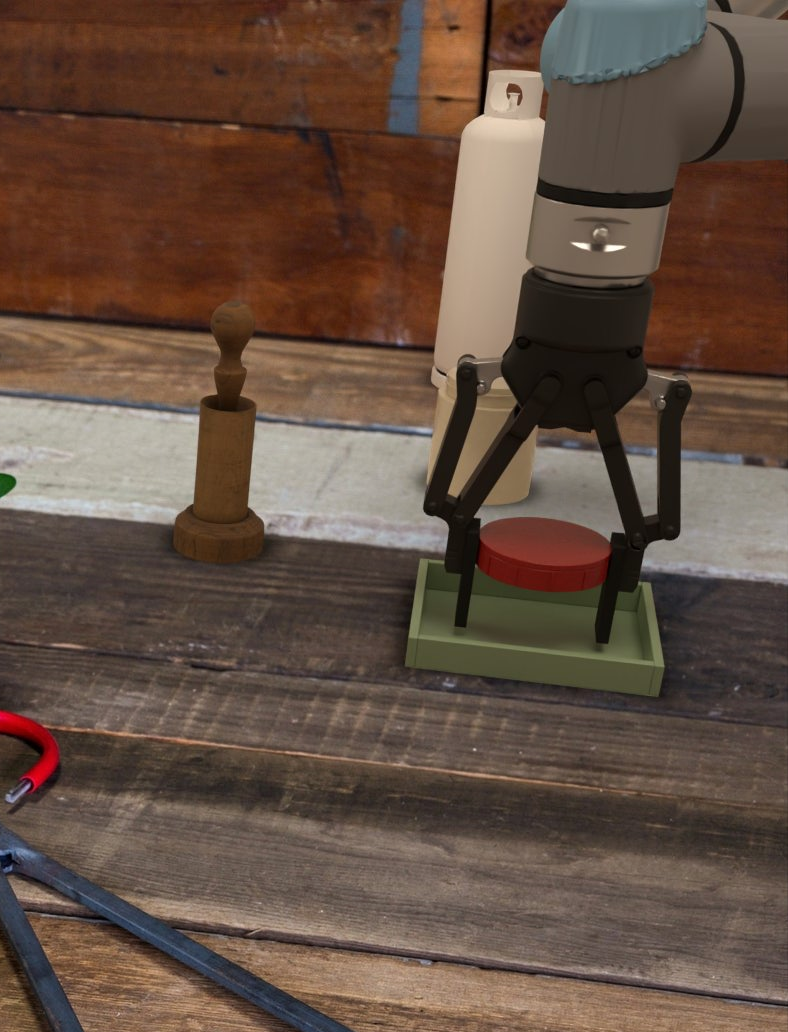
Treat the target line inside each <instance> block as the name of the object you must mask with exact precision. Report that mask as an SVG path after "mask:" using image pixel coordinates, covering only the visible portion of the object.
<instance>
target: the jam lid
mask: <svg viewBox="0 0 788 1032" xmlns="http://www.w3.org/2000/svg"><path fill="white" fill-rule="evenodd" d="M611 553H612V548H611V543H610V541H609V539H607V538H606V536H604V535H603V534H601V533H600V532H598V531H596V530H593V529H591V528H589V527H587V526H584V525H582V524H581V525H580V524H577V523H574V522H570V521H566V520H561V519H556V518H549V517H540V516H539V517H538V516H515V517H514V516H513V517H505V518H500V519H496V520H492V521H490V522H487V523H486V524H484V525H483V526H482V527H480V537H479V544H478V551H477V558H476V565H477V567H478V568H479V569H480V570H481V571H482V572H483V573H485V574H486V575H488V576H489V577H491V578H493V579H495V580H497V581H500V582H502V583H505V584H508V585H512V586H515V587H519V588H523V589H529V590H535V591H543V592H576V591H583V590H588V589H591V588H594V587H596V586H599V585H600V584H602V583H603V582H605V580H606V578H607V575H608V569H609V564H610V559H611Z"/></svg>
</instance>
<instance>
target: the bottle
mask: <svg viewBox="0 0 788 1032" xmlns="http://www.w3.org/2000/svg"><path fill="white" fill-rule="evenodd" d="M509 84H512V85H517V86H518V87H519V88H520V90H521V93H522V94H521V93H517V92H508V93H507V90H508V86H509ZM544 88H545V85H544V83H543V81H542V77H541V72H538V71H530V70H521V69H494V70H490V71H489V72H488V79H487V87H486V93H485V100H484V101H485V102H484V109H483V110H484V111H483V114H481V115H479V116H477V117H475V118H474V119H472V120H471V121H470V122H468V123H467V124H466V125H465V126H464V129H463V131H462V133H461V136H460V137H461V138H460V145H459V152H458V161H457V169H456V176H455V177H456V178H455V186H454V193H453V199H452V200H453V201H452V202H453V203H452V208H451V209H452V210H451V217H450V224H449V232H448V233H449V234H448V240H447V248H446V255H445V256H446V257H445V266H444V272H443V274H444V275H443V280H442V281H443V282H442V288H441V297H440V304H439V312H438V321H437V328H436V336H435V343H434V353H433V362H434V365H433V366H432V368H431V374H430V375H431V376H430V382H431V384H432V385H434V386H435V387H436V388H438V389H439V388H440V387H441V386H443V385H445V384H446V378H447V377H446V375H447V372H448V371H449V370H450V369H452V368H454V367H456V366H457V364H458V360H459V358H460V357H461V356H463V355H465V354H471V355H473V356H475V358H476V359H481V358H494V357H502V356H503V354H504V352H505V351H506V350H507V349H508V347H509V346H510V344H511V342H512V340H513V335H514V329H515V322H516V315H517V309H518V302H519V295H520V288H521V282H522V276H523V275H524V274H525V273H526V272H527V271H528V270H529V269H530V268H532V267H534V266H533V265H532V264H531V263H530V262H529V261H528V260H527V259H526V248H527V242H528V235H529V228H530V221H531V214H532V207H533V201H534V194H535V191H536V187H537V181H538V171H539V163H540V156H541V149H542V142H543V135H544V128H545V120H544V119H543V118H541V117H540V113H541V107H542V100H543V94H544V93H543V92H544ZM507 94H508V95H509V98H508V95H507ZM520 95H522V99H521V101H520V104H519V105H518V101H519V96H520Z"/></svg>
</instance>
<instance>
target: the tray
mask: <svg viewBox="0 0 788 1032" xmlns="http://www.w3.org/2000/svg"><path fill="white" fill-rule="evenodd" d="M444 562H445V560H441V559H431V558H429V559H428V558H421V557H420V559H419V561H418V567H417V568H418V570H417V578H416V582H415V588H414V598H413V604H412V609H411V615H410V617H411V618H410V624H409V631H408V637H407V645H406V652H405V653H406V654H405V659H404V660H405V661H404V667H406V668H412V669H413V668H414V669H420V670H421V669H423V670H429V671H438V672H448V673H454V674H464V675H473V676H481V677H489V678H497V679H506V680H513V681H523V682H531V683H539V684H548V685H556V686H563V687H564V686H565V687H572V688H582V689H588V690H589V689H590V690H599V691H607V692H615V693H622V694H623V693H624V694H633V695H640V696H649V697H657V698H658V697H659V695H660V692H661V687H662V682H663V677H664V674H665V668H666V665H665V661H664V655H663V649H662V643H661V636H660V631H659V625H658V624H659V623H658V617H657V612H656V607H655V600H654V594H653V589H652V583H651V582H648V581H647V582H646V581H639V582H638V586H637V588H636V589H635V591H634V592H633V593H628V592H619V591H618V596H617V601H616V606H615V612H614V617H613V622H612V627H611V632H610V638H609V643H608V644H601V643H596V637H595V620H596V615H597V610H598V604H599V599H600V593H601V588H602V584H600V585H599V586H596V587H594V588H591V589H588V590H583V591H576V592H543V591H535V590H529V589H523V588H519V587H515V586H512V585H508V584H505V583H502V582H500V581H497V580H495V579H493V578H491V577H489V576H488V575H486V574H485V573H483V572H482V571H481V570H480V569H479V568H478V567H477V565H476V564H475V571H474V578H473V585H472V591H471V598H470V605H469V612H468V618H467V625H466V628H463V627H455V626H454V624H455V613H456V605H457V598H458V591H459V584H460V577H461V574H453V573H446V570H445V566H444Z"/></svg>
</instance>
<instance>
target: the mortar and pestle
mask: <svg viewBox="0 0 788 1032" xmlns="http://www.w3.org/2000/svg"><path fill="white" fill-rule="evenodd" d="M210 330H211V333H212V336H213V339H214V341H215V342H216V344H217V346H218V348H219V351H220V358H219V362H218V364H217V365H215V366H214V368H213V378H214V383H215V384H214V385H215V389H216V393H217V394H209V395H205V396H203V397H202V398H200V401H199V416H198V417H199V418H198V433H197V435H198V436H197V451H196V463H195V464H196V465H195V476H194V488H193V489H194V492H193V502H192V503H191V504H190V505H188V506H187V507H186V508H184V509H183V510H182V511H180V512H179V513H178V514H177V515H176V516H175V519H174V528H173V529H174V530H173V541H172V546H173V548H174V549H175V550H176V551H177V553H179V554H181V555H183V556H184V557H187V558H190V559H191V560H192V559H193V560H195V561H200V562H206V563H214V564H215V563H216V564H231V563H241V562H245V561H248V560H251V559H253V558H255V557H257V556H258V555H260V554H261V553H262V552H263V550H264V539H265V523H264V520H263V519H262V518H261V517H260V516H258V515H257V514H256V512H255V511H254V510H253V509H252V508H251V507H249V497H250V487H251V486H250V485H251V473H252V463H253V453H254V441H255V431H256V419H257V409H258V405H257V403H256V402H255V401H254V400H252V399H251V398H248V397H246V396H242V395H241V394H242V391H243V388H244V385H245V382H246V379H247V375H248V374H247V373H248V369H247V368H246V367H245V366H243V364H242V355H243V353H244V350H245V348H246V347H247V345H248V343H249V342H250V340H251V339H252V337H253V335H254V333H255V330H256V317H255V314H254V312H253V310H252V309H251V307H250V306H249V305H247V304H246V303H244V302H241V301H226V302H224V303H222V304H220V305H218V307H216V308H215V310H214V312H213V313H212V316H211V319H210Z"/></svg>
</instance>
